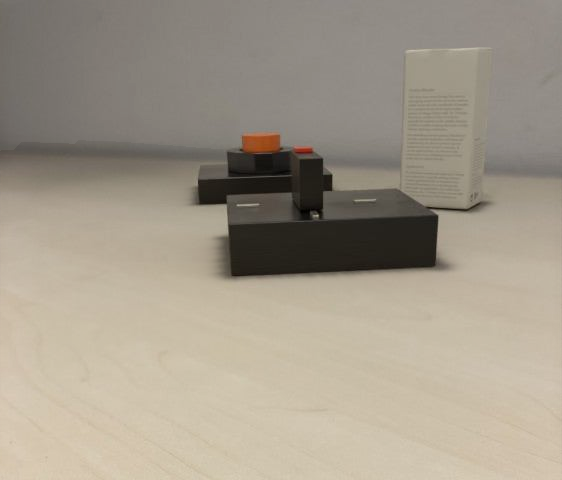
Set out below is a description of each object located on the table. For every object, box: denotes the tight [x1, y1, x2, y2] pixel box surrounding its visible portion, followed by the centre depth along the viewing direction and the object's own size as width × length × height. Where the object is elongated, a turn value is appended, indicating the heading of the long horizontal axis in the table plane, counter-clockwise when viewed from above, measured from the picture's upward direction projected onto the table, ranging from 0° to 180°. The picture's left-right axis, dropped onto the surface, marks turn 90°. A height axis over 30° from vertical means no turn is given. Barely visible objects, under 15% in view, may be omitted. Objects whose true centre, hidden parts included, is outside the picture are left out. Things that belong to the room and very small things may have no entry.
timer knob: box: [291, 145, 324, 211], centre depth 43 cm, size 5×1×3 cm, turn 5°
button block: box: [197, 145, 333, 205], centre depth 67 cm, size 12×10×4 cm
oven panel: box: [226, 187, 440, 277], centre depth 45 cm, size 12×10×3 cm
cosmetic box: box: [399, 47, 494, 210], centre depth 57 cm, size 6×4×12 cm
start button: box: [241, 131, 282, 152], centre depth 66 cm, size 4×4×2 cm
